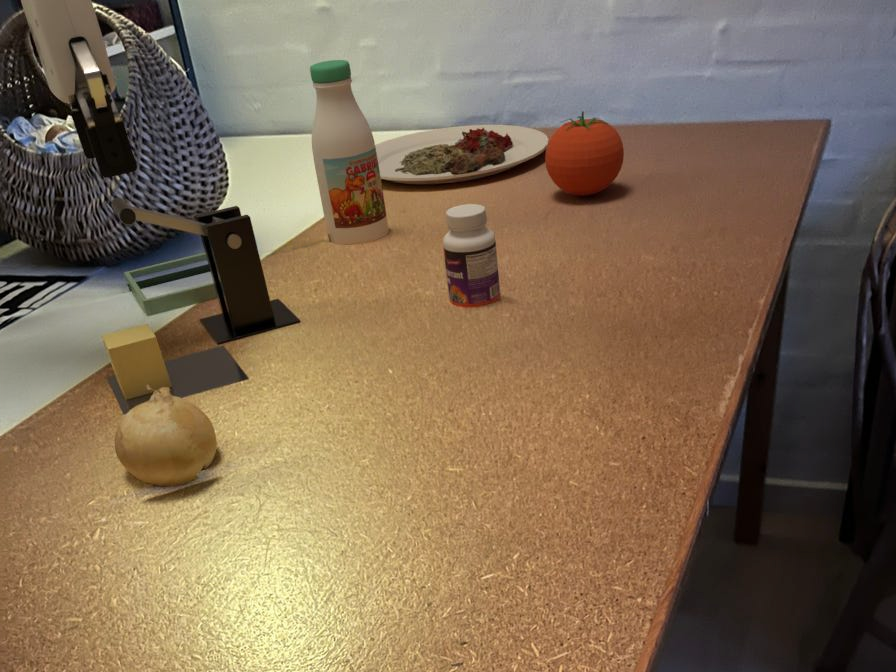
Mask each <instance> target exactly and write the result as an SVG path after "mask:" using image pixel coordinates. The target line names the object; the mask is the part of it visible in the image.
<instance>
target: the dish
mask: <svg viewBox="0 0 896 672" xmlns="http://www.w3.org/2000/svg"><path fill="white" fill-rule="evenodd" d="M204 261H207V257H206V253H205V252H201V253H197V254H193V255H188V256H185V257H181V258H177V259H172V260H169V261H164V262H161V263H157V264H153V265H148V266H143V267H140V268H136V269H132V270H128V271H124V272H123V276H124V279H125V280H126V282H127V284H126V285H127V287H128V290H129V292H130V293H132V295H133V297H134V298H135V301H137V303H138V304H139V306H140V307H141V309H142V311H143V313H144V314H145V315H146V317H150V316H154V315H157V314H161V313H165V312H169V311H173V310H177V309H181V308H184V307H189V306H192V305H196V304H200V303H204V302H207V301H210V300H211V301H212V300H216V299H218V297H217V293H216V290H215V286H214V283H213V281H212V282H208V283H204V284H200V285H195V286H192V287H188V288H184V289H181V290H177V291H173V292H168V293H164V294H160V295H156V296H153V297H149V298H147V296H146V295H145V294H144V293H143V291H142V290H143V289H147V288H150V287H155V286H159V285H162V284H167V283H171V282H174V281H178V280H182V279H186V278H190V277H194V276H198V275H203V274H207V273H211V272H210V268H209V264H208V263H207V264H204V265H203V264H202V265H199V266H195V267H191V268H186V269H182V270H179V271H174V272H170V273H167V274H163V275H158V276H154V277H150V278H145V279H142V280H138V281H135V279H136V278H139V277H143V276H146V275H151V274H155V273H160V272H162V271H163V272H164V271H168V270H172V269H176V268H180V267H185V266H187V265H192V264H195V263H199V262H204ZM134 278H135V279H134Z"/></svg>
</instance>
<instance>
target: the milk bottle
mask: <svg viewBox="0 0 896 672" xmlns="http://www.w3.org/2000/svg"><path fill="white" fill-rule="evenodd" d="M309 73H310V78H311V82H312V87H313V88H314V89H315V93H316V105H315V112H314V119H313V124H312V128H311V150H312V157H313V164H314V169H315V174H316V180H317V186H318V190H319V197H320V203H321V207H322V212H323V218H324V222H325V227H326V231H327V237H328V242H330V243H332V244H336V245H340V246H341V245H342V246H352V245H353V246H354V245H361V244H366V243H370V242H374V241H377V240H380V239H382V238H384V237H386V236H387V235H388V234H389V223H388V216H387V208H386V203H385V197H384V191H383V190H384V189H383V185H382V179H381V177H380V171H379V165H378V158H377V153H376V148H375V145H376V142H375V139H374V134H373V132H372V129H371V127H370V124H369V121H368V120H367V119H366V117H365V115H364V113H363V112H362V110H361V108H360V106H359V104H358V102H357V100H356V98H355V96H354V92H353V89H352V82H353V79H352V71H351V64H350V62H349V61H348V60H345V59H333V60H332V59H331V60H324V61H320V62H317V63H313V64H312V65H311V66H310V67H309Z"/></svg>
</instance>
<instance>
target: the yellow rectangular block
mask: <svg viewBox="0 0 896 672" xmlns="http://www.w3.org/2000/svg"><path fill="white" fill-rule="evenodd" d="M100 336H101V340H102V342H103V345H104V347H105V350H106V354H107V356H108V360H109V362H110V364H111V367H112V370H113V373H114V375H115V376H116V378H117V381H118V384H119V386H120V388H121V390H122V392H123V395H124V397H125V399H126V400H128V399H132V398H135V397H139V396H142V395H146V394H149V393H153V391H151V392H149V390H148V389H147V388H146V387H147V386H146V385H149V387H151V388H152V389H154V390H159V389H160V388H162V387H165V388H171V387H172V385H171V382H170V379H169V375H168V372H167V369H166V366H165V363H164V361H165V360H164V356H163V354H162V350H161V348H160V345H159V341H158V338H157V336H156V334H155V333H154V331H153V329H152V328H151V327H150V324H149V323H145V324H144V323H143V324H140V325H137V326H133V327H129V328H124V329H122V330H117V331H113V332H110V333H106V334H103V335H102V334H101V335H100Z"/></svg>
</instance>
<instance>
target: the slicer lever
mask: <svg viewBox="0 0 896 672" xmlns="http://www.w3.org/2000/svg"><path fill="white" fill-rule="evenodd" d="M110 204H111V205H110V207H111V209H112V210H113V212H114V213H115V214H116V216H117V217H118V218H119V220H120V221H121V222H122V223H123V224H124V225H128V226H129V225H133V224H134V223H135V222H136V221H138V222H142V223H146V224H151V225H156V226H160V227H165V228H170V229H172V230H178V231H181V232H187V233H191V234H195V235H200V236H201V235H204V236H207V232H206V229H205V224H206V223H202V222H198V221H197V220H193V219H188V218H184V217H180V216H175V215H171V214H167V213H162V212H159V211H155V210H149V209H146V208H140V207H137V206H132V205H129V204H128V203H127V201H126V200H125V199H124V198H122V197H119V196H118V197H114V198H113V199H112V200H111V203H110ZM222 220H225V219H221V218H217V217H213V218H212V223H213V222H217V221H222Z"/></svg>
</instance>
